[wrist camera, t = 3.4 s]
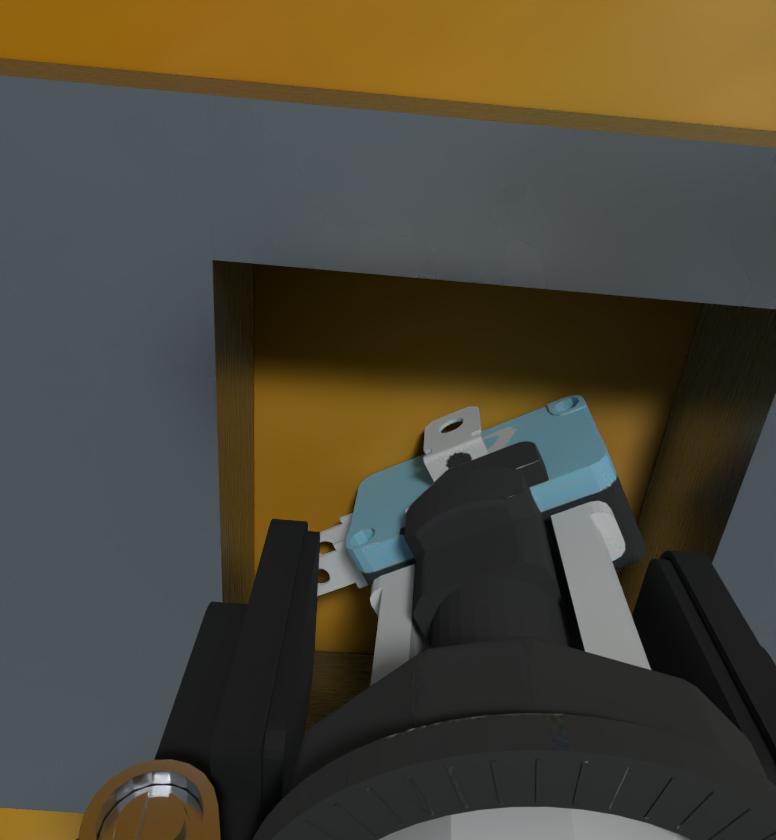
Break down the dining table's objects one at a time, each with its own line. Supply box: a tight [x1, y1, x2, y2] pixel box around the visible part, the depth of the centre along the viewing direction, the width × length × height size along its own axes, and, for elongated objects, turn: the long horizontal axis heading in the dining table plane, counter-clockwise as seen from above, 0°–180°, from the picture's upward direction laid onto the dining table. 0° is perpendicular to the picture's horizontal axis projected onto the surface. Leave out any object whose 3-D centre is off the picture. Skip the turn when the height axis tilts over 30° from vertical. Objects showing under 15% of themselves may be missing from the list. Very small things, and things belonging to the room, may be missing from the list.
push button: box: [253, 395, 776, 840], centre depth 10 cm, size 7×5×10 cm
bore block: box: [0, 58, 776, 813], centre depth 13 cm, size 18×14×3 cm
